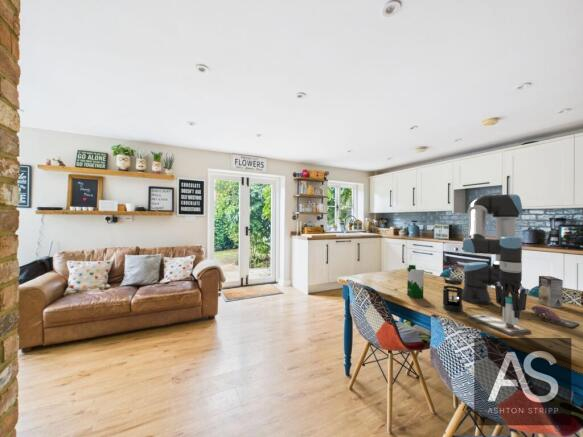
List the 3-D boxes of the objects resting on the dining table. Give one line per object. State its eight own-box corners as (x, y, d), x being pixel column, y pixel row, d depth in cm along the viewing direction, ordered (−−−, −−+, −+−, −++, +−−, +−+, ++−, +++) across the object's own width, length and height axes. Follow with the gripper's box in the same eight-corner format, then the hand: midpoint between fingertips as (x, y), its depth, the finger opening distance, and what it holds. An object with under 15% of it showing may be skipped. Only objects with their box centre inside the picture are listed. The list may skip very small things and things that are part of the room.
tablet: (467, 317, 127) (467, 315, 127) (486, 315, 130) (486, 313, 130) (509, 335, 108) (509, 332, 108) (530, 332, 111) (530, 329, 111)
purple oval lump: (533, 317, 132) (528, 305, 132) (540, 313, 133) (535, 301, 133) (555, 325, 123) (549, 312, 122) (562, 320, 123) (556, 308, 123)
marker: (503, 324, 115) (503, 296, 115) (508, 324, 115) (509, 296, 115) (511, 328, 111) (511, 298, 111) (517, 327, 112) (517, 298, 112)
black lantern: (451, 305, 145) (452, 265, 145) (468, 311, 136) (468, 269, 136) (436, 307, 141) (437, 267, 141) (452, 313, 132) (452, 270, 132)
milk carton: (405, 294, 167) (405, 264, 167) (419, 294, 166) (419, 264, 166) (411, 298, 158) (411, 266, 158) (425, 298, 158) (426, 266, 158)
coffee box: (537, 301, 153) (537, 275, 153) (550, 302, 151) (550, 276, 151) (549, 307, 144) (550, 279, 144) (563, 307, 142) (563, 279, 142)
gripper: (486, 267, 120) (485, 316, 120) (524, 275, 105) (524, 331, 105) (498, 267, 122) (498, 315, 122) (537, 274, 106) (537, 329, 106)
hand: (510, 322), depth 113 cm, fingers closed on marker, 3 cm apart
